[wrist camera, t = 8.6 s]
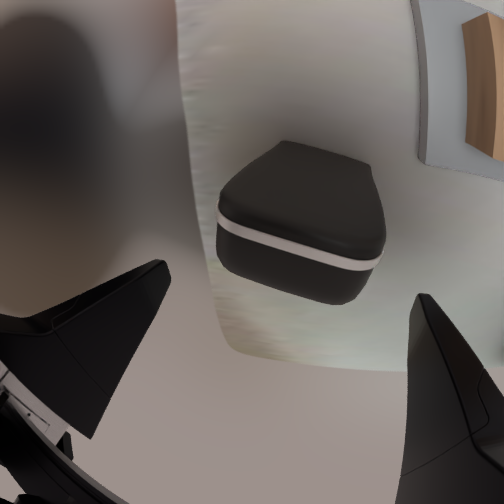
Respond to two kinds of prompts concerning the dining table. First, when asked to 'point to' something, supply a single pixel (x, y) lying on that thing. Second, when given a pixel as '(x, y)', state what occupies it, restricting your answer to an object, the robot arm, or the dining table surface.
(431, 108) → the slate base
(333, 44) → the dining table surface
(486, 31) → the walnut block
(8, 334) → the robot arm
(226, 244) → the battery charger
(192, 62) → the dining table surface
